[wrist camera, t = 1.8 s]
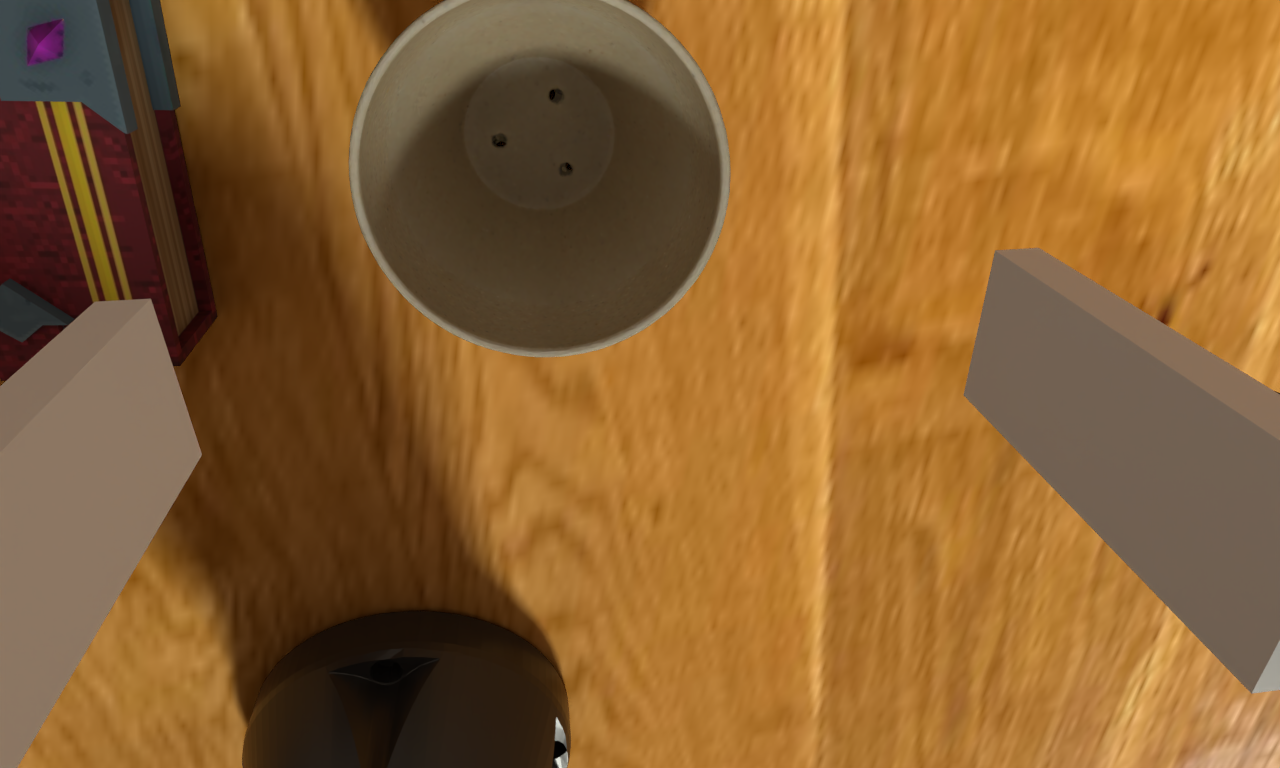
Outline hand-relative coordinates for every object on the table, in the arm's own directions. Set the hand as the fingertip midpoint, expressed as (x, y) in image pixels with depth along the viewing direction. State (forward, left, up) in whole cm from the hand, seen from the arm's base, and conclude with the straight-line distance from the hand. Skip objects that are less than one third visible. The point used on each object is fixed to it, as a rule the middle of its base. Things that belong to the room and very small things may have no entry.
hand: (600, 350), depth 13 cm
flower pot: (0, 0, -17) cm, 17 cm away
